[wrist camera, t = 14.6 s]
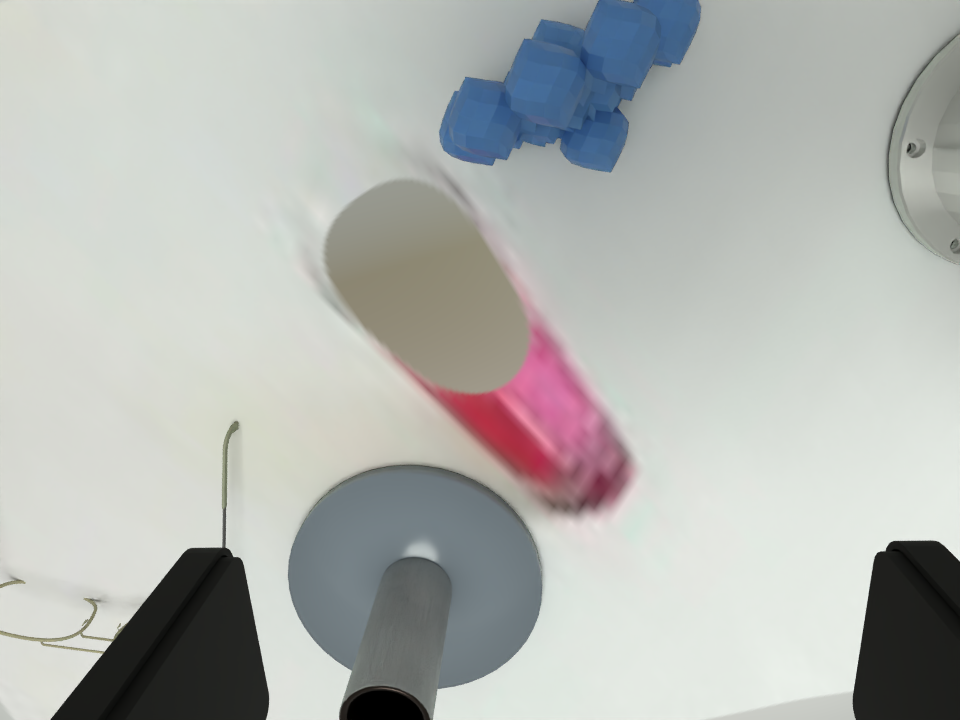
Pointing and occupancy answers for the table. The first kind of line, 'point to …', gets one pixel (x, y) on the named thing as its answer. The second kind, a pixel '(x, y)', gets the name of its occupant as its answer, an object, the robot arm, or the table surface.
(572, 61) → the grapes
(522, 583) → the dish
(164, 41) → the table surface
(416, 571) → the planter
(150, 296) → the table surface
